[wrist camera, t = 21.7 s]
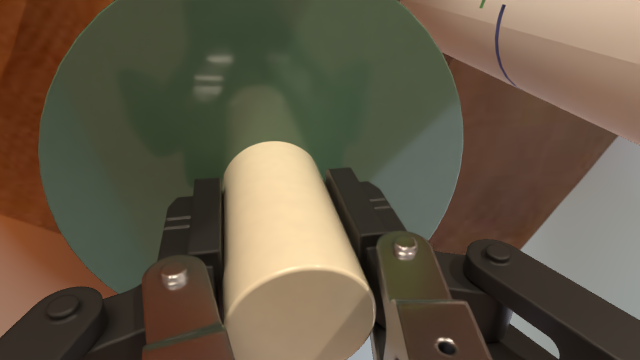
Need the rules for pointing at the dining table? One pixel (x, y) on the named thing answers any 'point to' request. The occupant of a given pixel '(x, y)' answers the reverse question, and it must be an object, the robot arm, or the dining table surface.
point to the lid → (251, 150)
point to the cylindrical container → (550, 51)
